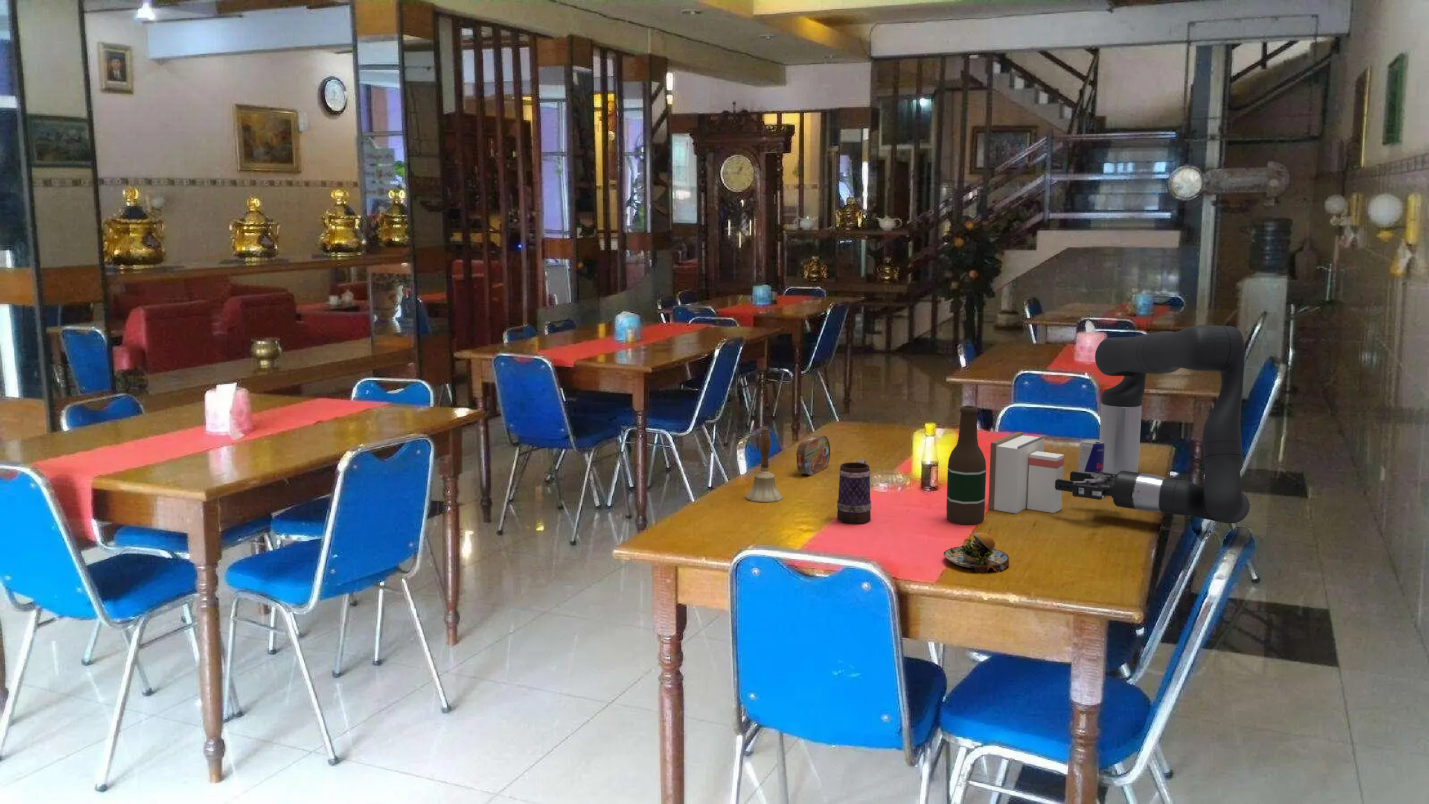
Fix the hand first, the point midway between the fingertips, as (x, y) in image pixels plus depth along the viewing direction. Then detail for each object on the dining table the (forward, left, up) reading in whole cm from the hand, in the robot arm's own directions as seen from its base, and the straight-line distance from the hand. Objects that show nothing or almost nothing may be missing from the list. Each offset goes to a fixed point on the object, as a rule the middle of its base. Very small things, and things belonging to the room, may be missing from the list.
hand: (1063, 480), depth 241 cm
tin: (0, -63, -7) cm, 63 cm away
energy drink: (-19, -1, -7) cm, 20 cm away
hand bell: (+28, -58, -7) cm, 65 cm away
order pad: (0, -10, -7) cm, 12 cm away
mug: (+30, -33, -7) cm, 45 cm away
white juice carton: (0, -4, -7) cm, 8 cm away
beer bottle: (+18, -14, -7) cm, 24 cm away
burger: (+43, 0, -8) cm, 44 cm away
